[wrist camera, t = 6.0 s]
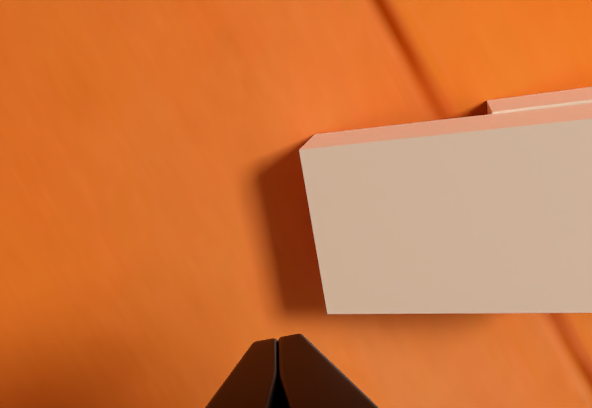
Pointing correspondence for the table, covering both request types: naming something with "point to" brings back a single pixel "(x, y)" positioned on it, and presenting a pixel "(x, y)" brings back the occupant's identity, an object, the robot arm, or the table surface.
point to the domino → (455, 214)
